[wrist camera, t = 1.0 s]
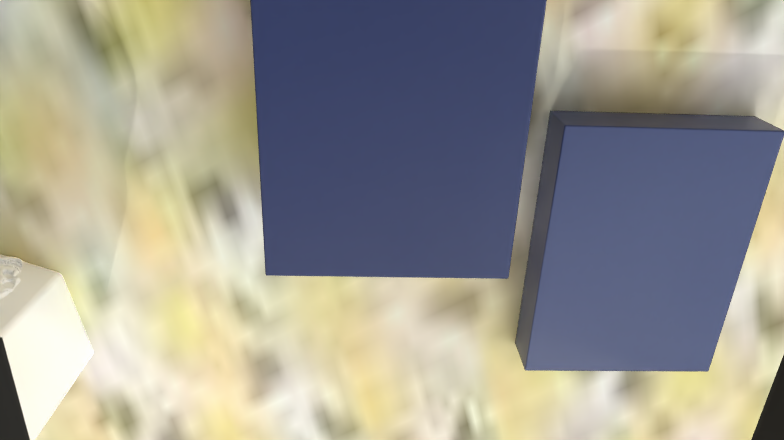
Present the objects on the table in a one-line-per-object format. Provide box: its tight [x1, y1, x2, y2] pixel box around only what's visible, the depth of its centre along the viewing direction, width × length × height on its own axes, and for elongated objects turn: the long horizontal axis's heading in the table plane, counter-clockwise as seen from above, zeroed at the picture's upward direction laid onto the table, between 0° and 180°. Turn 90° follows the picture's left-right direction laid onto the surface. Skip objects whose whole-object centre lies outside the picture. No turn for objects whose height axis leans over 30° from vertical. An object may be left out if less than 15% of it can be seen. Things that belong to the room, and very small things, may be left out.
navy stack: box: [515, 111, 784, 371], centre depth 29 cm, size 12×9×5 cm
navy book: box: [250, 0, 547, 279], centre depth 22 cm, size 12×9×3 cm
